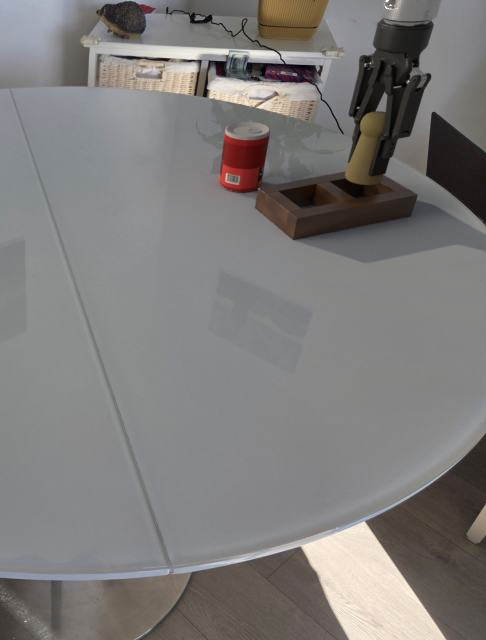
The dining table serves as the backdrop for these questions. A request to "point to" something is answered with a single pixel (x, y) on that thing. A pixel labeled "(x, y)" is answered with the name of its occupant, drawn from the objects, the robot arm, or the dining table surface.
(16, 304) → the dining table surface
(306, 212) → the caddy
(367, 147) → the tan pawn
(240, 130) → the canned food
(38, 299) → the dining table surface
